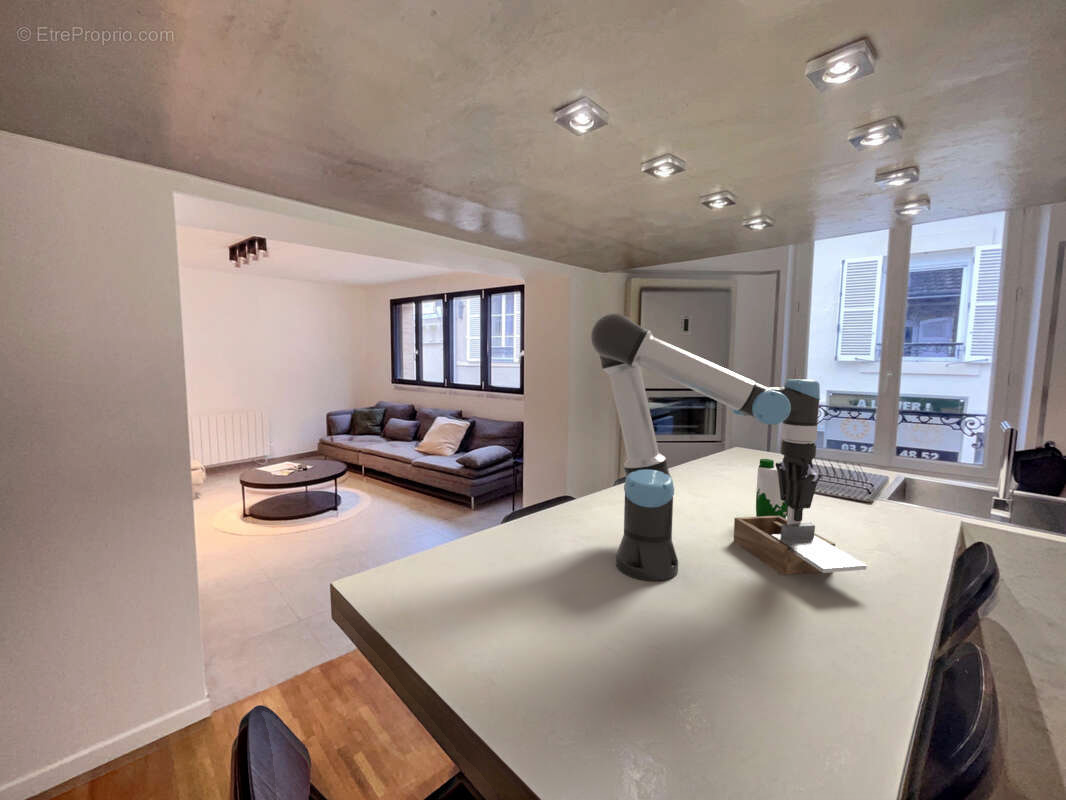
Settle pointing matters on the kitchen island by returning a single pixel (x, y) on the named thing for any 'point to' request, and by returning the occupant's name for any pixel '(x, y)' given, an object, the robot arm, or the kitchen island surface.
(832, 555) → the cover plate
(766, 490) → the milk carton
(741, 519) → the box
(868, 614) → the kitchen island surface
